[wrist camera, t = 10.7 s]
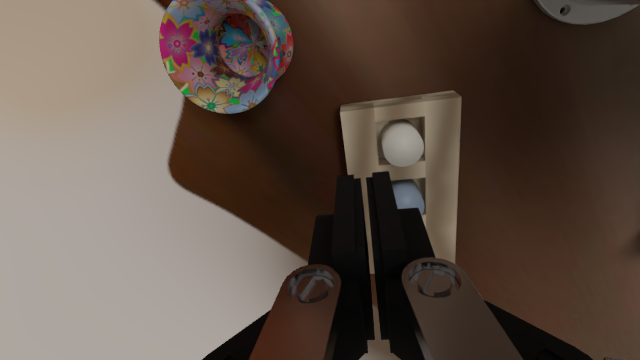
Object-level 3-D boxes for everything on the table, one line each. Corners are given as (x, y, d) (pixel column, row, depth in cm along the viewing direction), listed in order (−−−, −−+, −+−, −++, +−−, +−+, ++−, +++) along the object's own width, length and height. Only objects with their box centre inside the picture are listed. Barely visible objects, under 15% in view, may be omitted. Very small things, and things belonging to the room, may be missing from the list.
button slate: (418, 175, 38) (424, 190, 35) (418, 204, 40) (424, 221, 37) (383, 178, 39) (386, 193, 36) (385, 207, 41) (388, 224, 37)
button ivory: (416, 116, 35) (423, 127, 32) (417, 151, 37) (424, 164, 34) (379, 121, 36) (382, 132, 33) (381, 155, 38) (384, 168, 34)
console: (453, 90, 35) (461, 96, 32) (448, 253, 45) (454, 268, 42) (340, 104, 37) (339, 112, 34) (359, 259, 46) (360, 274, 44)
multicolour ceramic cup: (302, 86, 36) (284, 112, 27) (220, 89, 37) (175, 115, 28) (292, -45, 31) (265, -71, 21) (196, -38, 32) (131, -59, 22)
